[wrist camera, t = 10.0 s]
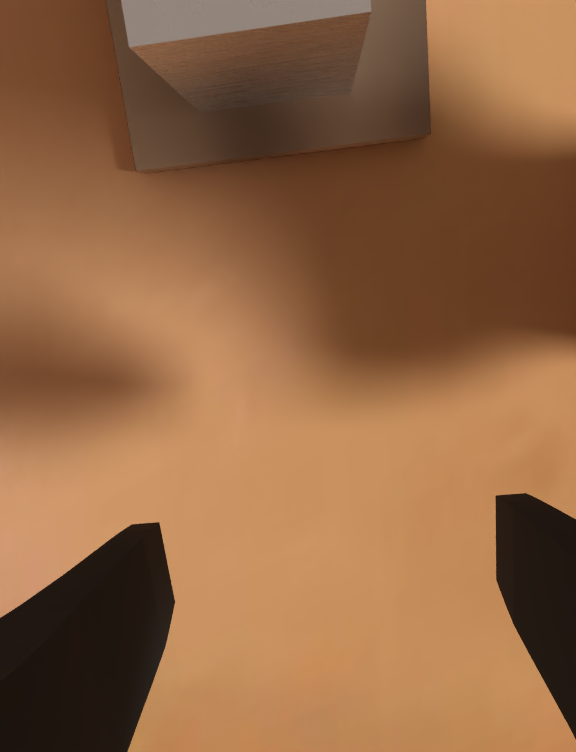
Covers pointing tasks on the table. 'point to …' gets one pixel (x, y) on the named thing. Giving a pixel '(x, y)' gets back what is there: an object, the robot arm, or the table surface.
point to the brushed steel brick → (249, 47)
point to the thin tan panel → (284, 119)
